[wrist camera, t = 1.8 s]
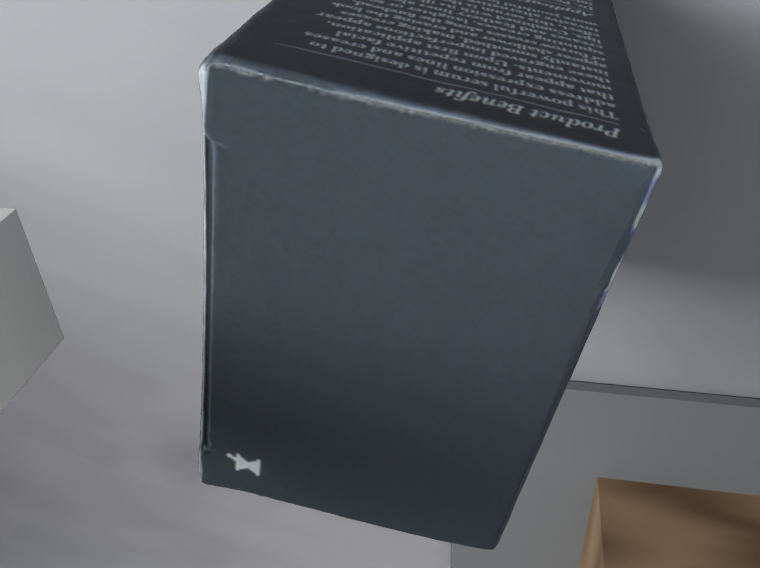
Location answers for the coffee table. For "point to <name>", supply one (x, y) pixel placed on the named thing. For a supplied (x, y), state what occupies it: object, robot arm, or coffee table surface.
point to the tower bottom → (670, 527)
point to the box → (409, 247)
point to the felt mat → (620, 464)
